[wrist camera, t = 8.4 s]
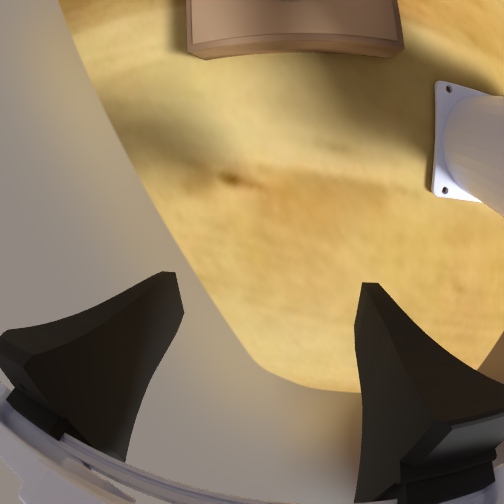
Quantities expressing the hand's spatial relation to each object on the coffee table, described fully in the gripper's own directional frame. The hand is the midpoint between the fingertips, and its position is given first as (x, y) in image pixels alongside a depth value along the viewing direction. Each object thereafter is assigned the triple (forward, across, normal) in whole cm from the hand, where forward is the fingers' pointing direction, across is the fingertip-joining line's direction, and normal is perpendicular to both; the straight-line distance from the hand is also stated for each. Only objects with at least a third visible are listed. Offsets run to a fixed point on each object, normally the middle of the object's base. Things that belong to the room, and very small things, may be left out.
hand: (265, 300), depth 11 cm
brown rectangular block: (+10, -1, -16) cm, 19 cm away
